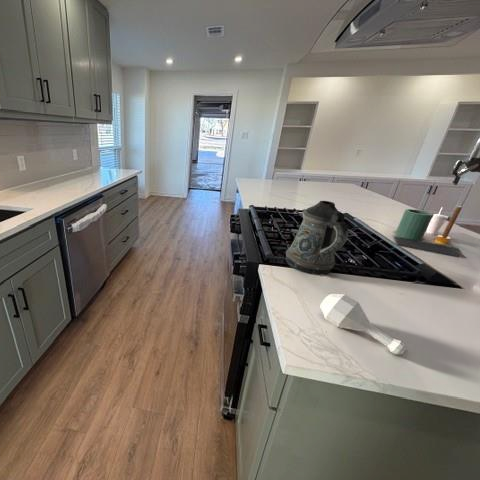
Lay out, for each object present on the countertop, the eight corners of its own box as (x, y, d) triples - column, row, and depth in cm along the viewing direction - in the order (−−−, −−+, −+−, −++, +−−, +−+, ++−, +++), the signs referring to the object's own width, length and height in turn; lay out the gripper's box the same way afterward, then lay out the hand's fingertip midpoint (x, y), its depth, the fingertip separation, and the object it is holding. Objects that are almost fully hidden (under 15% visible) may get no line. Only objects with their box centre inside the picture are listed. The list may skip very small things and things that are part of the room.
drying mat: (450, 247, 116) (451, 246, 116) (458, 257, 107) (459, 256, 107) (394, 237, 126) (394, 236, 126) (397, 245, 117) (397, 244, 117)
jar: (419, 236, 129) (430, 211, 124) (423, 242, 121) (435, 216, 116) (394, 231, 134) (404, 207, 129) (396, 237, 127) (407, 212, 122)
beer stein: (298, 251, 109) (314, 194, 99) (349, 271, 94) (373, 206, 84) (275, 261, 100) (290, 199, 90) (327, 284, 85) (351, 213, 76)
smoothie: (419, 230, 137) (431, 205, 131) (433, 231, 136) (445, 206, 130) (428, 234, 131) (441, 208, 125) (443, 235, 130) (456, 209, 124)
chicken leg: (390, 368, 56) (417, 340, 54) (312, 312, 67) (331, 287, 65) (391, 360, 62) (415, 334, 60) (319, 310, 73) (337, 287, 71)
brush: (446, 242, 122) (465, 206, 115) (449, 245, 118) (469, 208, 111) (433, 239, 125) (450, 204, 117) (435, 242, 121) (453, 206, 114)
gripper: (466, 146, 106) (448, 185, 113) (519, 148, 99) (496, 189, 105) (461, 146, 112) (443, 182, 118) (510, 147, 104) (489, 187, 111)
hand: (468, 186), depth 112 cm, fingers open, 8 cm apart
